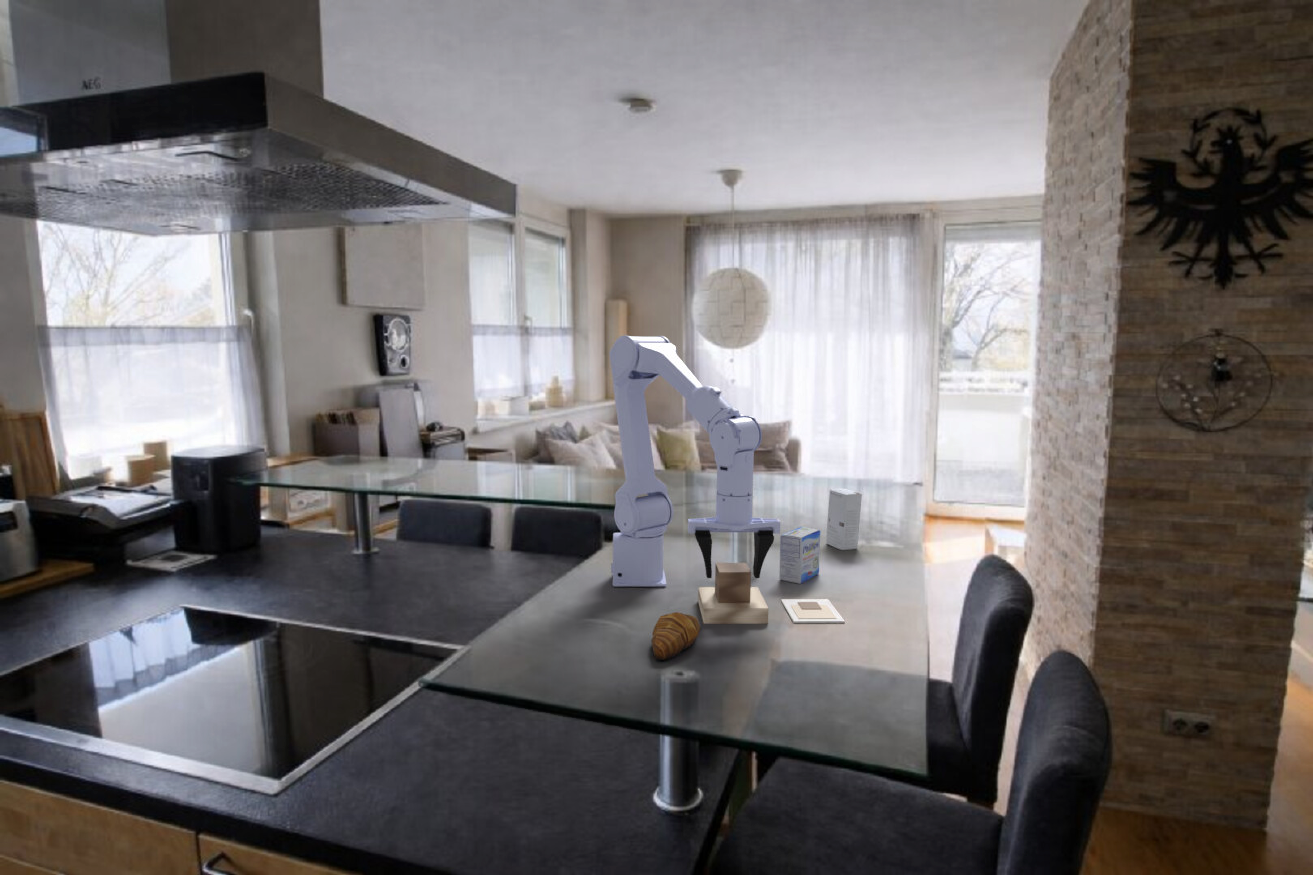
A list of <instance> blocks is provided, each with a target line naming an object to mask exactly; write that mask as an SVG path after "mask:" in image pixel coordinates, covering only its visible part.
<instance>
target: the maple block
mask: <svg viewBox="0 0 1313 875" xmlns="http://www.w3.org/2000/svg"><path fill="white" fill-rule="evenodd" d="M697 589H698V590H697V596H698V597H697V602H698V607H699V610H700V614H701V618H702V623H703V624H705V625H706V624H708V625H709V624H712V625H713V624H714V625H715V624H716V625H717V624H721V625H722V624H723V625H724V624H725V625H727V624H729V625H731V624H735V625H736V624H741V625H742V624H747V625H748V624H751V625H752V624H754V625H755V624H757V625H758V624H769V607H768V605H767V602H766V601H765V598H764V596H763V595H762V593H761V591H760V588H759V587H758V586H751V591H750V603H718V600H717V597H716V594H715V586H714V587H713V586H711V587H710V586H702V587H701V586H699V587H698V588H697Z"/></svg>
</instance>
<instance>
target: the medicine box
mask: <svg viewBox="0 0 1313 875" xmlns="http://www.w3.org/2000/svg"><path fill="white" fill-rule="evenodd" d="M820 550H821V530H820V529H817V528H812V527H806V526H805V527H804V526H802V527H801V526H799V527H798V528H795V529H791V530H790V531H788V532H785V533H783V534H780V540H779V580H780V581H784V582H785V581H786V582H789V583H793V584H798V585H801V584H804V583H805V582H807V581H809V580H811V579H812V578H814V577H815V576H817V575H819V574H820V556H821V553H820V552H821V551H820Z"/></svg>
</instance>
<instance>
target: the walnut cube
mask: <svg viewBox="0 0 1313 875" xmlns="http://www.w3.org/2000/svg"><path fill="white" fill-rule="evenodd" d="M714 569H715V571H714V572H715V574H714V576H715V577H714V587H715V594H716V597H717V600H718V603H750V591H751V587H752V585H751V584H752V582H751V580H752V572H751V569H750V568H749V566H748V564H747V563H746V562H715V567H714Z"/></svg>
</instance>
